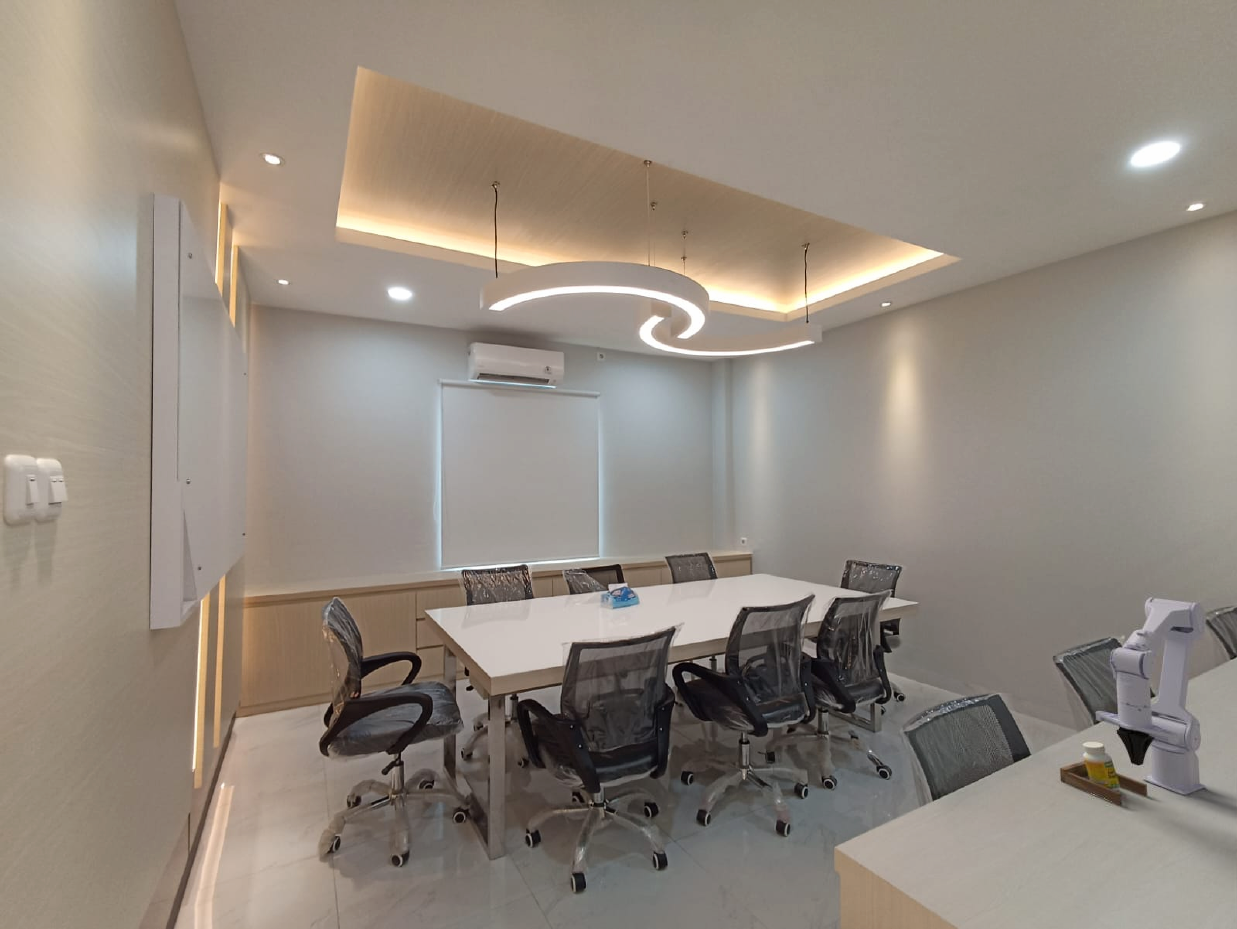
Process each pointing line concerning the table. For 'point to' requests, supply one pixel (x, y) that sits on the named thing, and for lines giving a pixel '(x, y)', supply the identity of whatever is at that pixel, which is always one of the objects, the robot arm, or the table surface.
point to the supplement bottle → (1100, 765)
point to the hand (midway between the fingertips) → (1137, 763)
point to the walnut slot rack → (1079, 770)
